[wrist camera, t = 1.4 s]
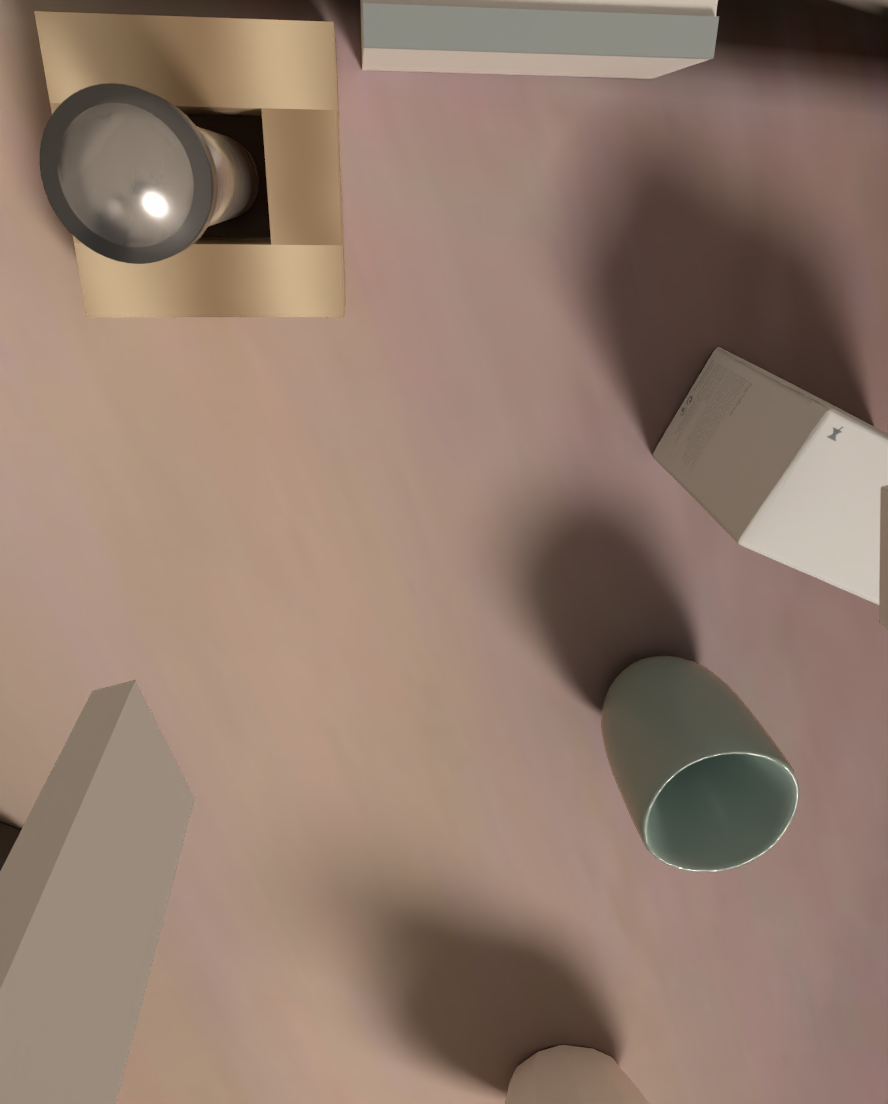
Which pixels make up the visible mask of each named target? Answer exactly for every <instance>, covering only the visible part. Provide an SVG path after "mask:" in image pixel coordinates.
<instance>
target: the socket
mask: <svg viewBox="0 0 888 1104" xmlns="http://www.w3.org/2000/svg"><path fill="white" fill-rule="evenodd" d="M717 3H718V0H360V7H361V47H362V70H377V71H411V72H444V73H477V74H511V75H544V76H577V77H611V78H644V79H652V78H655V77H658V76H661V75H664V74H667V73H670V72H673V71H676V70H679V69H682V68H685V67H688V66H691V65H694V64H697V63H700V62H703V61H706V60H709V59H712V58H714V51H715V43H716V36H717V29H718V21H719V17H716V11H717Z"/></svg>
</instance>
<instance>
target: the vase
mask: <svg viewBox="0 0 888 1104" xmlns="http://www.w3.org/2000/svg"><path fill="white" fill-rule="evenodd" d="M505 1104H649V1102H648V1101H647V1100H646V1098H645V1097H644V1096H643V1094H642V1093H641V1092H640V1091H639V1089H638V1088H637V1087H636V1085H635V1084H634V1083H633V1082H632V1081H631V1079H630V1078H629V1077H628V1076H627V1075H626V1074H625V1073H624V1072H623V1071H622V1069H621V1068H620V1067H619V1066H618V1064H617V1063H616V1062H615V1060H614V1059H613V1058H612V1057H611V1056H608V1055H606V1054H604V1053H602V1052H600V1051H597V1050H595V1049H593V1048H585V1047H576V1046H568V1045H559V1046H556V1047H552V1048H549V1049H545V1050H542V1051H539V1052H537V1053H535V1054H534V1055H532V1056H531V1057H530V1058H528V1059H527V1060H525V1061H524V1062H523V1063H521V1064H520V1065H519V1066H517V1067H516V1069H515V1072H514V1074H513V1076H512V1078H511V1080H510V1083H509V1087H508V1091H507V1095H506V1100H505Z"/></svg>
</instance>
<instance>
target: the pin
mask: <svg viewBox="0 0 888 1104" xmlns="http://www.w3.org/2000/svg"><path fill="white" fill-rule="evenodd" d="M40 170H41V177H42V181H43V185H44V189H45V192H46V194H47V197H48V200H49V202H50V204H51V206H52V208H53V210H54V211H55V213H56V215H57V216H58V218H59V219H60V221H61V222H62V223H63V224H64V226H65V227H66V228H67V229H68V231H69V232H70V233H71V234H73V235H74V236H75V237H76V238H77V239H78V240H79V241H80V242H82V243H83V244H84V245H85V246H87V247H88V248H90V249H91V250H93V251H95V252H96V253H98V254H100V255H103V256H105V257H107V258H110V259H113V260H116V261H120V262H125V263H132V264H146V263H153V262H158V261H161V260H164V259H167V258H169V257H172V256H174V255H176V254H179V253H180V252H182V251H184V250H186V249H187V248H189V247H190V246H191V245H193V244H194V243H195V242H196V241H197V240H198V239H199V238H200V237H201V236H202V234H203V233H204V232H205V230H206V229H207V227H209V226H212V225H215V224H218V223H221V222H224V221H227V220H230V219H233V218H235V217H238V216H240V215H242V214H243V213H245V212H246V211H247V210H248V209H249V208H250V207H251V206H252V204H253V203H254V201H255V199H256V196H257V193H258V189H259V175H258V170H257V167H256V164H255V162H254V160H253V158H252V156H251V155H250V153H249V152H248V151H247V149H246V148H245V147H244V146H243V145H241V144H240V143H239V142H237V141H236V140H234V139H232V138H230V137H227V136H225V135H222V134H219V133H215V132H212V131H209V130H206V129H203V128H200V127H197V126H196V125H195V124H194V123H193V122H192V121H191V120H190V119H189V117H188V116H187V115H185V114H184V113H183V112H182V111H181V110H180V109H179V108H177V107H176V106H174V105H173V104H172V103H170V102H169V101H167V100H165V99H163V98H161V97H159V96H157V95H155V94H152V93H150V92H148V91H145V90H142V89H140V88H137V87H134V86H129V85H125V84H116V83H107V84H98V85H93V86H89V87H87V88H84V89H81V90H79V91H77V92H76V93H74V94H72V95H71V96H69V97H68V98H67V99H66V100H64V101H63V102H62V103H61V104H60V105H59V106H58V108H57V109H56V110H55V111H54V113H53V114H52V116H51V117H50V119H49V121H48V123H47V125H46V128H45V130H44V134H43V137H42V141H41V148H40Z"/></svg>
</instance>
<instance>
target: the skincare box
mask: <svg viewBox="0 0 888 1104" xmlns="http://www.w3.org/2000/svg"><path fill="white" fill-rule="evenodd" d="M653 458H654V459H655V460H656V461H657V462H658V463H659V464H660V465H661V466H662V467H663V468H664V469H665V470H666V471H667V472H668V473H669V474H670V475H671V476H672V477H673V478H674V479H675V480H676V481H677V482H678V483H679V484H680V485H681V486H682V487H683V488H684V489H685V490H686V491H687V492H688V493H689V494H690V495H691V496H692V497H693V498H694V499H695V500H696V501H697V502H698V503H699V504H700V505H701V506H702V507H703V508H704V509H705V510H706V511H707V512H708V513H709V514H710V515H711V516H712V517H713V518H714V519H715V520H716V521H717V522H718V523H719V524H720V525H721V526H722V527H723V529H724V530H725V531H726V532H727V533H728V534H729V535H730V536H731V537H732V538H733V539H734V540H735V541H736V542H737V543H738V544H740V545H742V546H744V547H746V548H748V549H750V550H753V551H755V552H757V553H760V554H762V555H764V556H767V557H769V558H771V559H773V560H776V561H778V562H780V563H783V564H785V565H787V566H790V567H792V568H794V569H797V570H799V571H801V572H804V573H806V574H808V575H811V576H813V577H816V578H818V579H820V580H822V581H825V582H827V583H829V584H832V585H834V586H836V587H838V588H841V589H843V590H845V591H848V592H850V593H853V594H855V595H857V596H860V597H862V598H864V599H867V600H869V601H871V602H873V603H876V604H878V605H879V580H880V495H881V487H882V486H886V485H888V434H887V433H885V432H883V431H881V430H880V429H878V428H876V427H874V426H872V425H870V424H868V423H866V422H864V421H862V420H860V419H859V418H857V417H855V416H853V415H851V414H849V413H847V412H845V411H843V410H842V409H840V408H838V407H836V406H834V405H832V404H830V403H828V402H826V401H824V400H822V399H820V398H818V397H817V396H815V395H813V394H811V393H809V392H807V391H805V390H803V389H801V388H799V387H797V386H795V385H793V384H791V383H789V382H787V381H785V380H783V379H781V378H779V377H777V376H776V375H774V374H772V373H770V372H768V371H766V370H764V369H762V368H760V367H758V366H756V365H754V364H752V363H750V362H748V361H746V360H744V359H742V358H740V357H738V356H736V355H734V354H732V353H730V352H728V351H726V350H724V349H722V348H720V347H717V348H716V349H715V350H714V351H713V353H712V355H711V356H710V358H709V360H708V361H707V363H706V365H705V366H704V368H703V370H702V372H701V373H700V375H699V376H698V378H697V380H696V381H695V383H694V385H693V386H692V388H691V390H690V391H689V393H688V395H687V396H686V398H685V400H684V402H683V403H682V405H681V406H680V408H679V410H678V411H677V413H676V415H675V416H674V418H673V420H672V421H671V423H670V425H669V426H668V428H667V430H666V431H665V433H664V435H663V437H662V438H661V440H660V442H659V443H658V445H657V447H656V449H655V451H654V453H653Z"/></svg>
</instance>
